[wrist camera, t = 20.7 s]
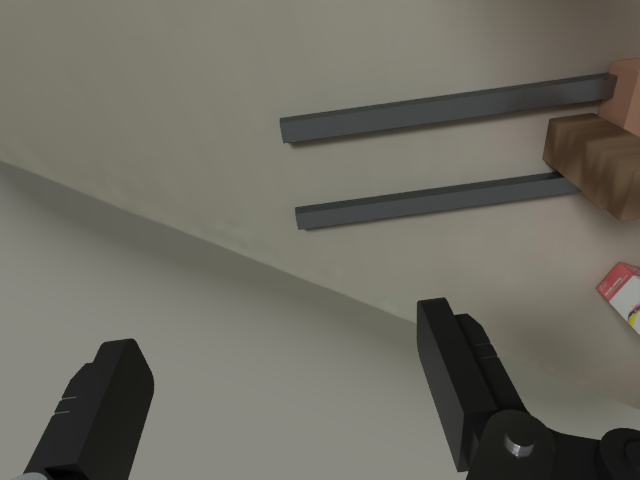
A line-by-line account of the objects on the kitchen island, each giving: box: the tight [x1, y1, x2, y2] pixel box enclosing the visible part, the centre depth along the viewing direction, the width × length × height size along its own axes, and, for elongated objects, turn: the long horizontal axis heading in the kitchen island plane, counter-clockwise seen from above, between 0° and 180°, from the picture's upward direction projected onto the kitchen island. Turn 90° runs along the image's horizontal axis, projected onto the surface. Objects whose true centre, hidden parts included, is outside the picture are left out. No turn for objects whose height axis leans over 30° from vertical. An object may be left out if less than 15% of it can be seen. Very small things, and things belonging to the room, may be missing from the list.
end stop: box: [580, 58, 640, 209], centre depth 44 cm, size 14×2×4 cm, turn 7°
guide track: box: [280, 73, 618, 230], centre depth 45 cm, size 12×32×2 cm, turn 97°
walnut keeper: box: [542, 113, 640, 221], centre depth 40 cm, size 4×4×13 cm
